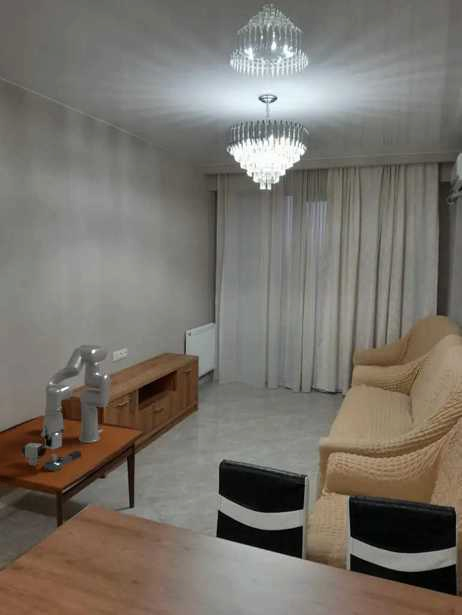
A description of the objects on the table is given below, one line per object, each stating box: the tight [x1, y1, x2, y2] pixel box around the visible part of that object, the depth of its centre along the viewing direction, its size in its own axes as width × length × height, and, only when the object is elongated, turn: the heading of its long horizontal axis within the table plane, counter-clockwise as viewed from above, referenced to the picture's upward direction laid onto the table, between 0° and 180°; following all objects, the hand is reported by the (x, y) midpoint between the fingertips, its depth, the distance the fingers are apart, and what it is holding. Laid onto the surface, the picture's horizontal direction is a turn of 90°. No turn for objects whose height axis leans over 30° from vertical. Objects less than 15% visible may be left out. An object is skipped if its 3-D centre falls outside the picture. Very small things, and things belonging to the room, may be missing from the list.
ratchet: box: [44, 450, 82, 473], centre depth 257 cm, size 22×9×7 cm, turn 152°
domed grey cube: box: [44, 431, 63, 451], centre depth 249 cm, size 6×6×8 cm
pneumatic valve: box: [21, 442, 47, 466], centre depth 254 cm, size 6×12×12 cm, turn 78°
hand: (53, 443), depth 250 cm, fingers closed on domed grey cube, 6 cm apart
